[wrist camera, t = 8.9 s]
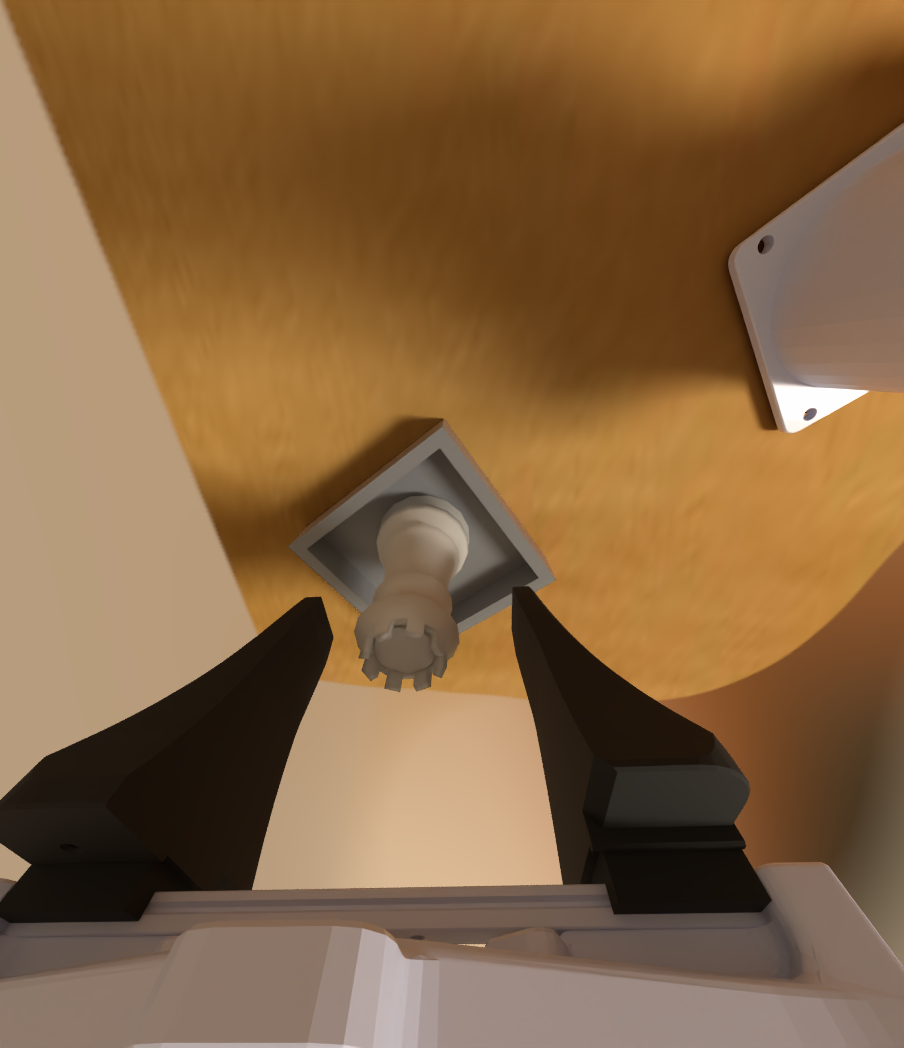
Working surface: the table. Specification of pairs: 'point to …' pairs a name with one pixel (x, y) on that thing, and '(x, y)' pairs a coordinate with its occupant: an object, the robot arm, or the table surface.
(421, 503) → the rook chess piece
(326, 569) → the tray
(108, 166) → the table surface
